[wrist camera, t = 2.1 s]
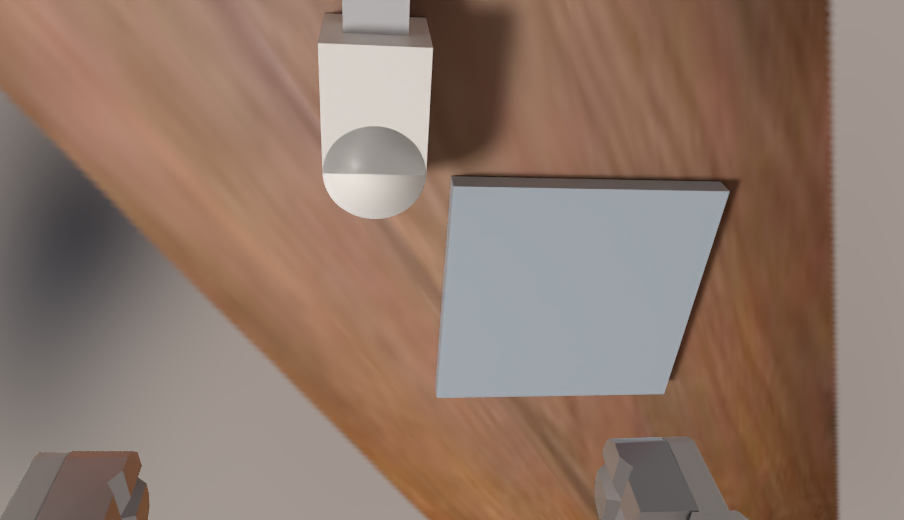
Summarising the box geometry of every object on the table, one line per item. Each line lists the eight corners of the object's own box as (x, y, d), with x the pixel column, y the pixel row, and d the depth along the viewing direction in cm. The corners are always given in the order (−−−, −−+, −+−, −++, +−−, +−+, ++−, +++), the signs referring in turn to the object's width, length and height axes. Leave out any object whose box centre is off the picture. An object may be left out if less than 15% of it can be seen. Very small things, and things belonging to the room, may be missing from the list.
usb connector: (322, -53, 26) (315, -31, 23) (428, -47, 27) (437, -24, 23) (329, 173, 31) (324, 218, 28) (418, 175, 32) (423, 219, 28)
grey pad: (451, 176, 32) (453, 186, 31) (720, 181, 33) (729, 191, 33) (435, 385, 39) (436, 397, 38) (658, 381, 41) (663, 393, 40)
